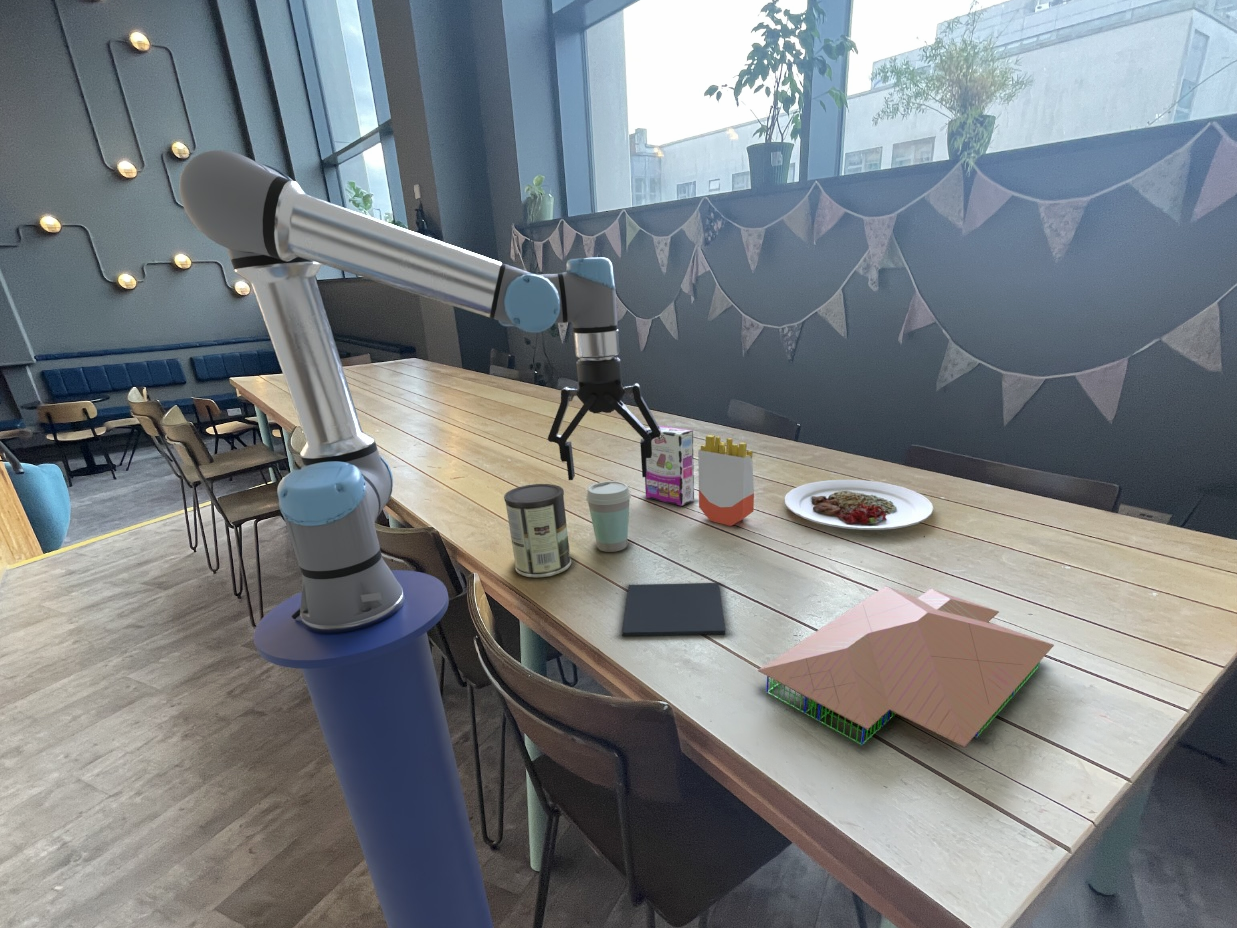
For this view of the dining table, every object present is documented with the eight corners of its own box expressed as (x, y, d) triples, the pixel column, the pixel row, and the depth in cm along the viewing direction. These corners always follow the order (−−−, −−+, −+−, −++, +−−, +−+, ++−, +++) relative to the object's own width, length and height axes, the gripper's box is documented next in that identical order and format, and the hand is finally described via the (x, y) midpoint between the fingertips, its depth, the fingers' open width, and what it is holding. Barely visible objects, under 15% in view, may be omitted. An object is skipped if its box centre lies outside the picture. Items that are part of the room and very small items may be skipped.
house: (1055, 657, 80) (1070, 603, 77) (939, 794, 60) (952, 729, 57) (892, 598, 96) (898, 551, 92) (757, 691, 76) (759, 636, 73)
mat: (622, 636, 89) (621, 632, 89) (629, 587, 103) (629, 584, 103) (725, 634, 89) (725, 630, 88) (718, 585, 102) (718, 582, 102)
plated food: (867, 480, 149) (869, 466, 147) (965, 521, 123) (968, 505, 122) (759, 499, 140) (759, 485, 138) (839, 547, 114) (841, 531, 112)
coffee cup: (627, 534, 124) (623, 477, 119) (639, 550, 116) (636, 491, 111) (586, 541, 122) (580, 483, 117) (595, 558, 114) (590, 497, 109)
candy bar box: (695, 500, 140) (694, 430, 134) (682, 507, 137) (680, 434, 130) (658, 491, 147) (655, 424, 141) (644, 497, 144) (641, 428, 137)
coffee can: (549, 549, 119) (541, 479, 113) (582, 564, 112) (575, 491, 106) (503, 566, 112) (492, 494, 107) (535, 583, 106) (525, 507, 100)
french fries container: (711, 511, 134) (710, 430, 126) (754, 521, 127) (756, 436, 120) (698, 518, 131) (697, 434, 123) (742, 528, 124) (744, 441, 117)
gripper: (671, 351, 107) (675, 467, 116) (530, 358, 109) (545, 473, 117) (670, 356, 100) (675, 480, 109) (520, 364, 102) (537, 485, 110)
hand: (608, 476), depth 113 cm, fingers open, 13 cm apart
